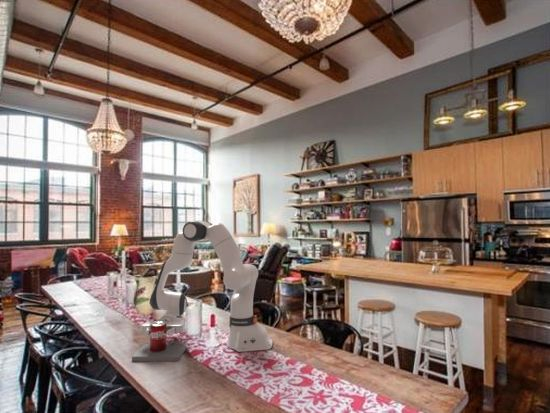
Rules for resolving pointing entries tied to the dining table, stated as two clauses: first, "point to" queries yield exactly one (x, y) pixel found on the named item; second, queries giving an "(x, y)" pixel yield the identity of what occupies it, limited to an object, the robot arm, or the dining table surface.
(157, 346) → the soda can
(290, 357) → the dining table surface
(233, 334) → the robot arm
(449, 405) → the dining table surface
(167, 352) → the serving board
